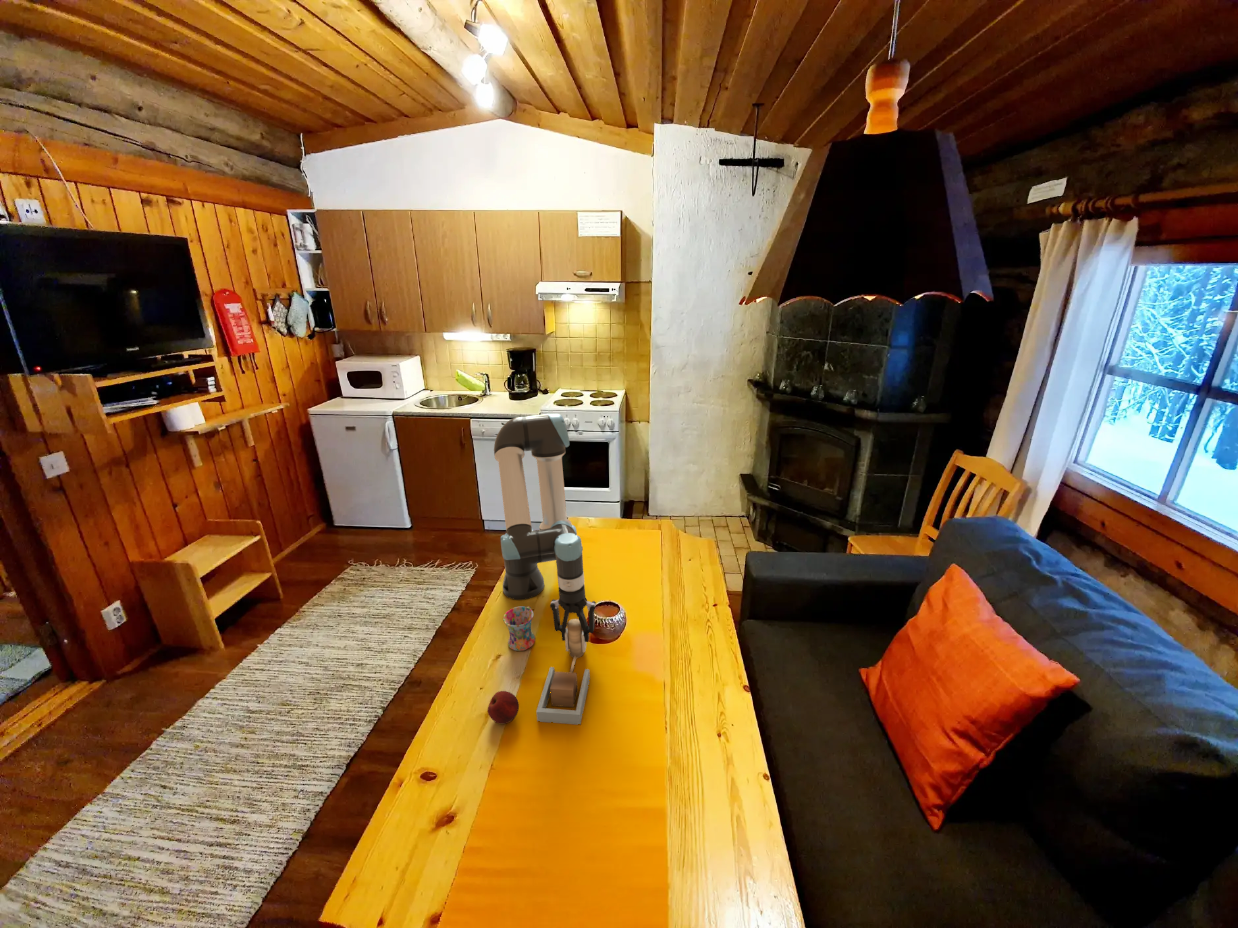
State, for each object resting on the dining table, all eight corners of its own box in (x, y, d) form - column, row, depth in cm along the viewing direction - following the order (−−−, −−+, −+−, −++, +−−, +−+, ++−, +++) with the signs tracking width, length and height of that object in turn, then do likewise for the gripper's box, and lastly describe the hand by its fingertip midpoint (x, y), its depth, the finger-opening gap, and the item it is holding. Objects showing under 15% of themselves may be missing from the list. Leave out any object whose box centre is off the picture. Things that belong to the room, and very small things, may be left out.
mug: (528, 656, 148) (524, 628, 144) (501, 650, 151) (497, 622, 147) (545, 630, 159) (542, 603, 155) (520, 624, 162) (516, 598, 158)
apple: (494, 705, 132) (491, 683, 129) (523, 705, 131) (520, 683, 128) (487, 729, 125) (482, 706, 122) (516, 729, 125) (513, 706, 122)
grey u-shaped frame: (551, 676, 141) (550, 666, 139) (589, 678, 139) (589, 669, 138) (537, 721, 127) (536, 711, 125) (580, 724, 125) (579, 714, 124)
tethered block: (568, 646, 151) (566, 618, 147) (587, 647, 151) (585, 619, 147) (551, 705, 131) (548, 674, 127) (573, 707, 130) (571, 675, 126)
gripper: (538, 591, 137) (545, 655, 146) (599, 594, 135) (602, 659, 144) (545, 576, 144) (551, 638, 153) (603, 578, 142) (606, 641, 151)
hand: (576, 648), depth 149 cm, fingers closed on tethered block, 4 cm apart
